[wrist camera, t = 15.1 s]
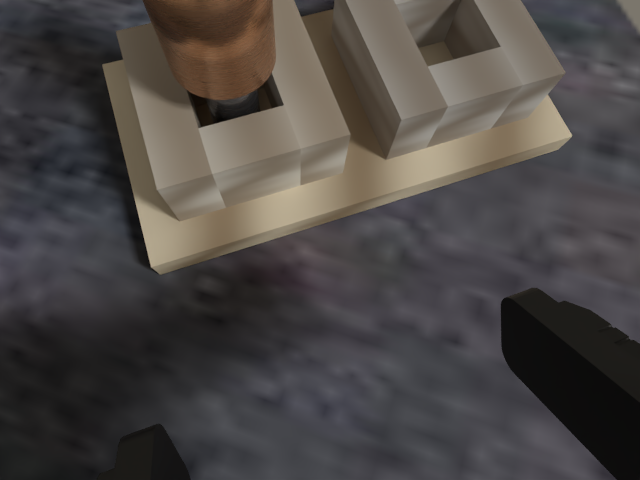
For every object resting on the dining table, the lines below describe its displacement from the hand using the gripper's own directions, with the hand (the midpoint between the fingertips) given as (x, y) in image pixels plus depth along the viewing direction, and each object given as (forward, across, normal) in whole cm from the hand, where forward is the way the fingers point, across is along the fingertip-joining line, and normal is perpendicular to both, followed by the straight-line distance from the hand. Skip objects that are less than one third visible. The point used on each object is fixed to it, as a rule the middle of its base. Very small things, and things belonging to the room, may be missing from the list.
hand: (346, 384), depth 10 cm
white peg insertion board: (+13, -4, -3) cm, 14 cm away
